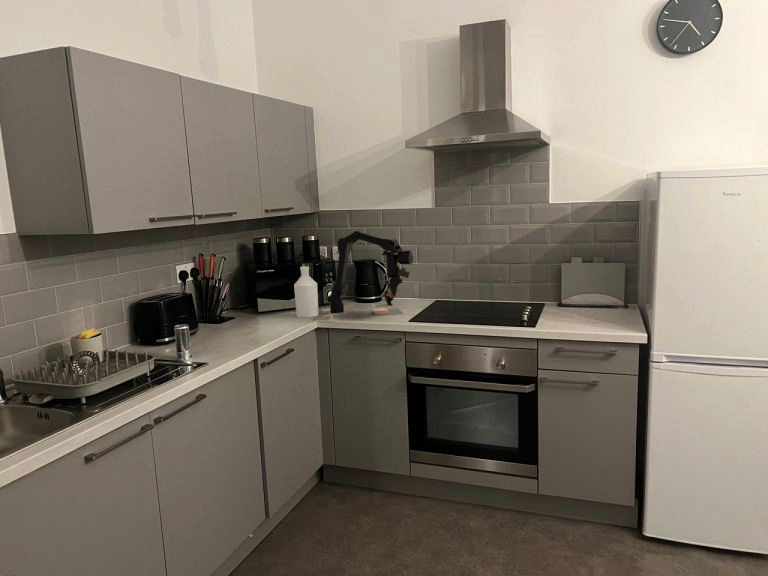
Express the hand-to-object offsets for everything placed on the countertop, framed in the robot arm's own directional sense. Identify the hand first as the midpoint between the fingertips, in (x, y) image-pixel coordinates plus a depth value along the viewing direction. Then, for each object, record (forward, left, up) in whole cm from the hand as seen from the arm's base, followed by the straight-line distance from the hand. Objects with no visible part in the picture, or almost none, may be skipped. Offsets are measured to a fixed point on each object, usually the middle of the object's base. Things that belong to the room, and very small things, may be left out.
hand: (393, 295), depth 301 cm
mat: (-7, +7, -10) cm, 14 cm away
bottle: (-42, +18, -11) cm, 47 cm away
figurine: (+3, +24, -11) cm, 26 cm away
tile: (-9, +7, -9) cm, 15 cm away
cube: (0, 0, -1) cm, 1 cm away
